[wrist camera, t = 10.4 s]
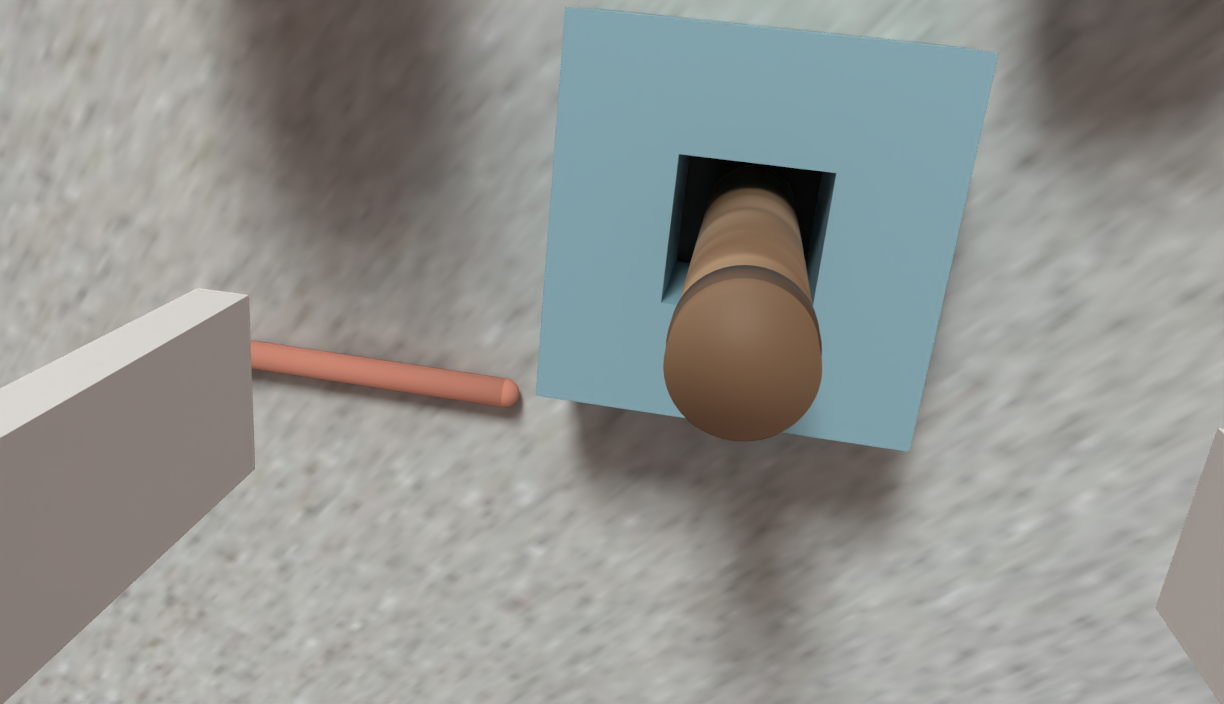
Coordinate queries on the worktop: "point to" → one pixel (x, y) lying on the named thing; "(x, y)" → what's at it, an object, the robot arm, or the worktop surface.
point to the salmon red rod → (384, 374)
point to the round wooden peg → (745, 315)
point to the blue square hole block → (772, 135)
